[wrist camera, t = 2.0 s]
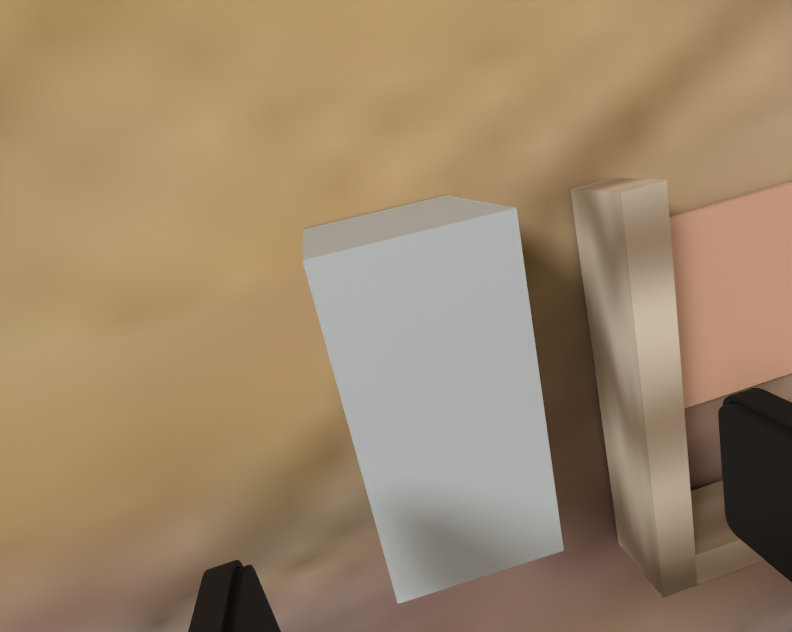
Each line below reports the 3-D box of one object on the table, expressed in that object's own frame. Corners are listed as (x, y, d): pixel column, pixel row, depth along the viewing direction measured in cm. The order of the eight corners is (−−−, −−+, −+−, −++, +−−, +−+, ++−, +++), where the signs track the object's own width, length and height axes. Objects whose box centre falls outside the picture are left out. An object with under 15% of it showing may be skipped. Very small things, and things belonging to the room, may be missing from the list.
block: (303, 229, 17) (302, 260, 11) (446, 195, 17) (516, 207, 12) (371, 479, 20) (397, 603, 14) (491, 444, 20) (563, 550, 15)
